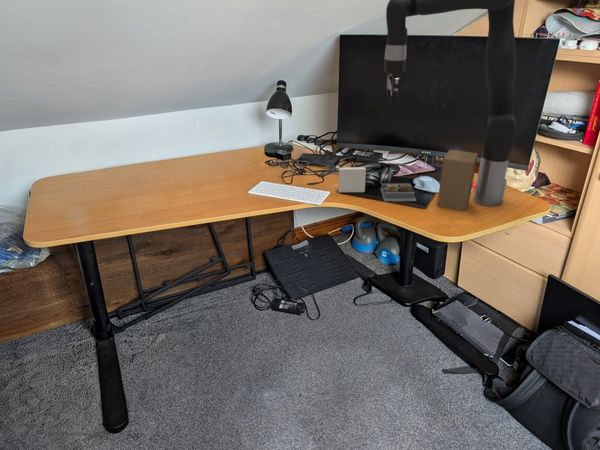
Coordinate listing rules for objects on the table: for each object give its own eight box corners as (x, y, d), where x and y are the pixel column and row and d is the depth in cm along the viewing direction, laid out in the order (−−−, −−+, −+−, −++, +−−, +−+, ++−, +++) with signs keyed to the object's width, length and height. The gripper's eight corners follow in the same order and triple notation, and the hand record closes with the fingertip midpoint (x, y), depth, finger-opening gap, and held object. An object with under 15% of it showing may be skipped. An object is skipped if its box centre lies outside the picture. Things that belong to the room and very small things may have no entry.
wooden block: (468, 203, 170) (478, 152, 161) (464, 215, 162) (473, 162, 153) (441, 199, 174) (449, 149, 164) (436, 209, 166) (443, 157, 157)
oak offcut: (396, 194, 175) (397, 184, 173) (397, 196, 173) (398, 186, 171) (386, 194, 175) (386, 184, 173) (386, 196, 173) (387, 186, 172)
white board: (363, 193, 180) (365, 167, 174) (364, 195, 178) (365, 169, 173) (338, 193, 180) (339, 167, 175) (338, 195, 178) (339, 169, 173)
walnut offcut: (409, 194, 175) (410, 184, 173) (410, 196, 173) (411, 186, 171) (399, 194, 175) (400, 184, 173) (400, 196, 173) (400, 186, 171)
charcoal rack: (410, 191, 181) (411, 183, 179) (416, 204, 170) (417, 195, 169) (379, 191, 181) (380, 183, 180) (383, 204, 171) (384, 196, 169)
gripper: (409, 61, 157) (404, 108, 165) (402, 54, 170) (398, 98, 178) (387, 61, 157) (384, 108, 165) (382, 55, 170) (379, 98, 178)
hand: (391, 103), depth 171 cm, fingers open, 8 cm apart
